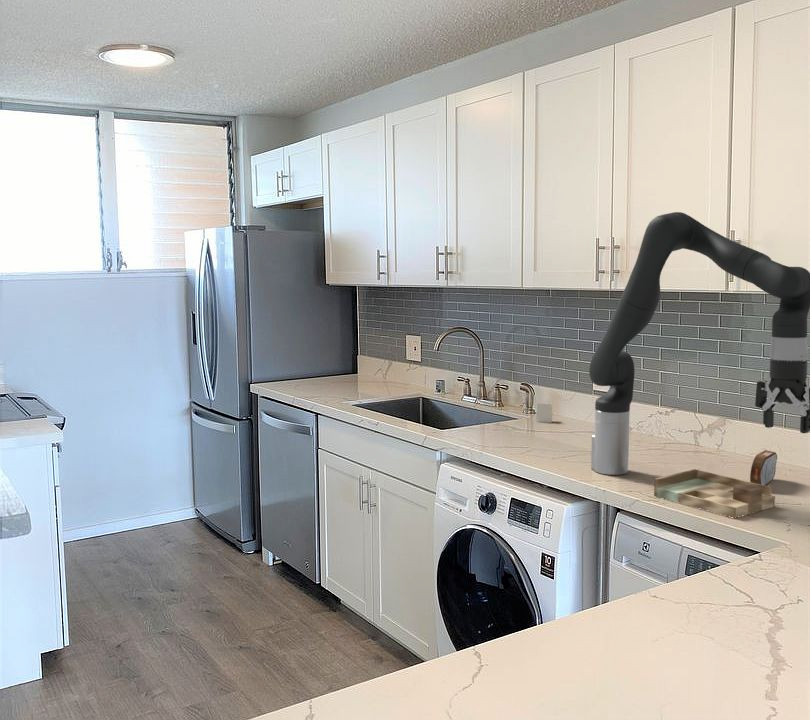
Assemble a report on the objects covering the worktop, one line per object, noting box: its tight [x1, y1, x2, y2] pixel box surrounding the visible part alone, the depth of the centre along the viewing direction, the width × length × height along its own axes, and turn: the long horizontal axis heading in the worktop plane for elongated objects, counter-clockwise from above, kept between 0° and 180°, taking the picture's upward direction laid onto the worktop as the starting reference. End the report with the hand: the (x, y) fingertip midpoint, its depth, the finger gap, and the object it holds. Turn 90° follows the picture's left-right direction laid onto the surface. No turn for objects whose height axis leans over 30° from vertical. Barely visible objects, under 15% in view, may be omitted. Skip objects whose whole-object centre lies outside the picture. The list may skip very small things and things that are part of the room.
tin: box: [749, 449, 778, 486], centre depth 212 cm, size 15×3×8 cm, turn 141°
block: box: [733, 484, 762, 504], centre depth 189 cm, size 4×4×3 cm
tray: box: [653, 468, 776, 519], centre depth 196 cm, size 22×16×4 cm
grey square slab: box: [535, 402, 557, 424], centre depth 298 cm, size 3×7×7 cm, turn 74°
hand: (786, 430), depth 181 cm, fingers open, 8 cm apart
